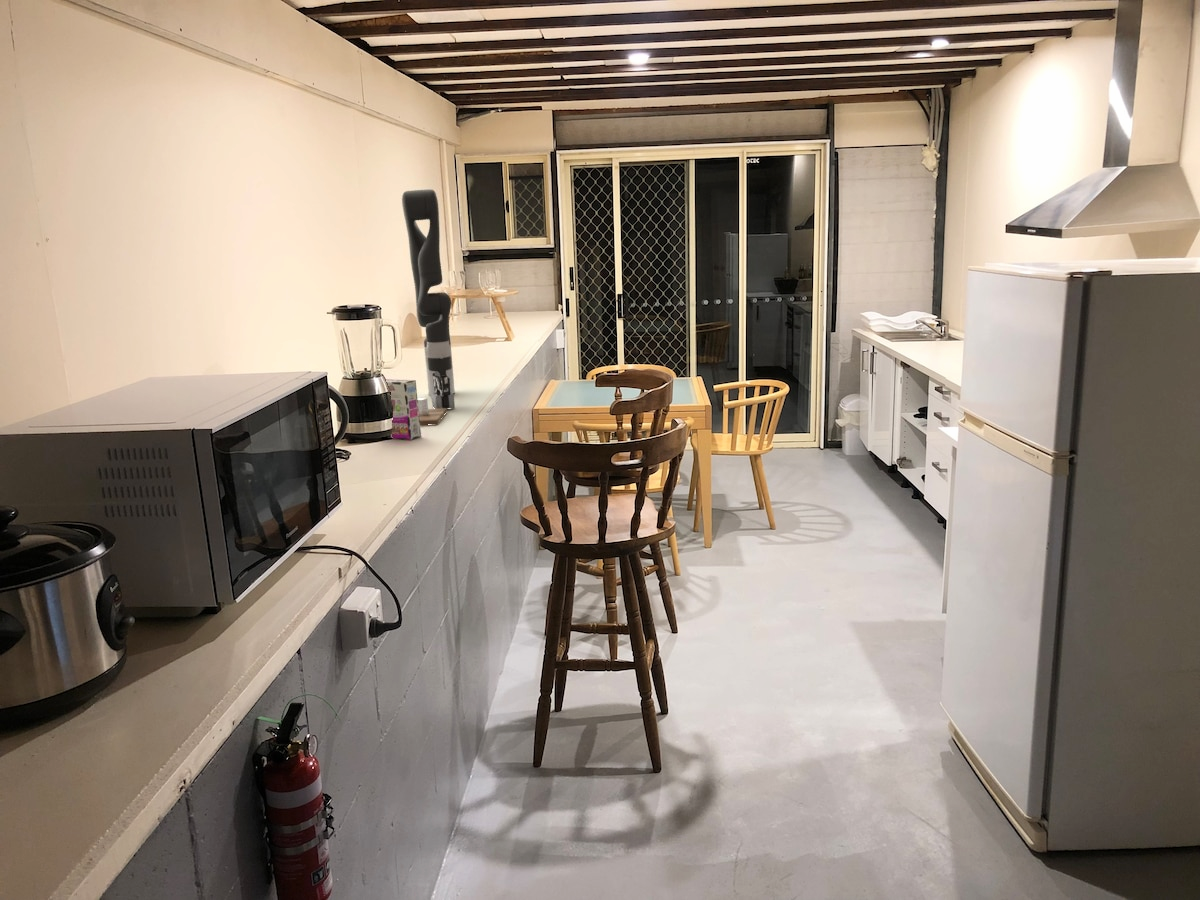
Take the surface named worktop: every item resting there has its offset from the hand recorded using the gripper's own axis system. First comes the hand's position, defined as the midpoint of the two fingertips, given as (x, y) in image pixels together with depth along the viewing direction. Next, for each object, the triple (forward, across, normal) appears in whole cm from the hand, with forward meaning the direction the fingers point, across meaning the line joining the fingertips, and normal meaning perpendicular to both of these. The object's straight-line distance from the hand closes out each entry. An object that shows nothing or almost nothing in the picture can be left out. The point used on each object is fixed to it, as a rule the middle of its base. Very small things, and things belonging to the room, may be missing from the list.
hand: (443, 406), depth 295 cm
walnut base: (+1, +14, -10) cm, 17 cm away
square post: (-1, +14, -10) cm, 17 cm away
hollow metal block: (+1, 0, 0) cm, 1 cm away
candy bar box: (+1, +35, -21) cm, 41 cm away
